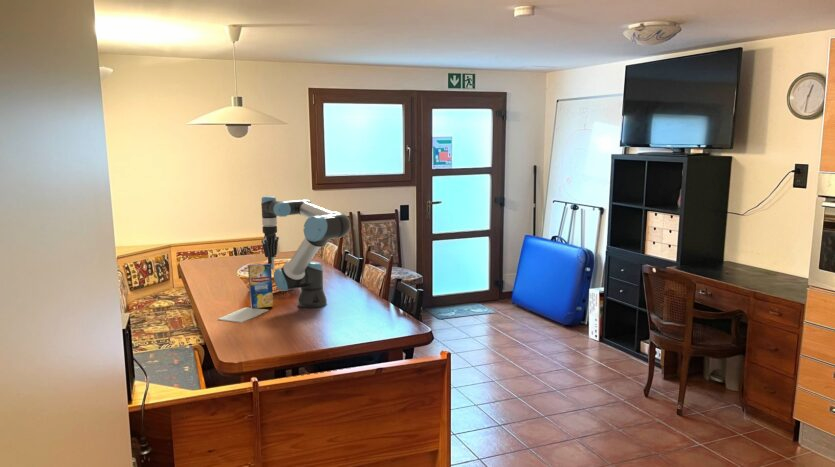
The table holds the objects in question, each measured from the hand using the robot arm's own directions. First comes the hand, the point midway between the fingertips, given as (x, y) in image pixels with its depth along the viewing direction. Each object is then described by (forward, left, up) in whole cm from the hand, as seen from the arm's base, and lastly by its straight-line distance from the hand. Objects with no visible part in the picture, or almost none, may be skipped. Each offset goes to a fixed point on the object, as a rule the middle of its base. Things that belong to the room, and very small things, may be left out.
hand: (271, 269), depth 314 cm
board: (0, +25, -19) cm, 31 cm away
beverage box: (0, +10, -18) cm, 21 cm away
